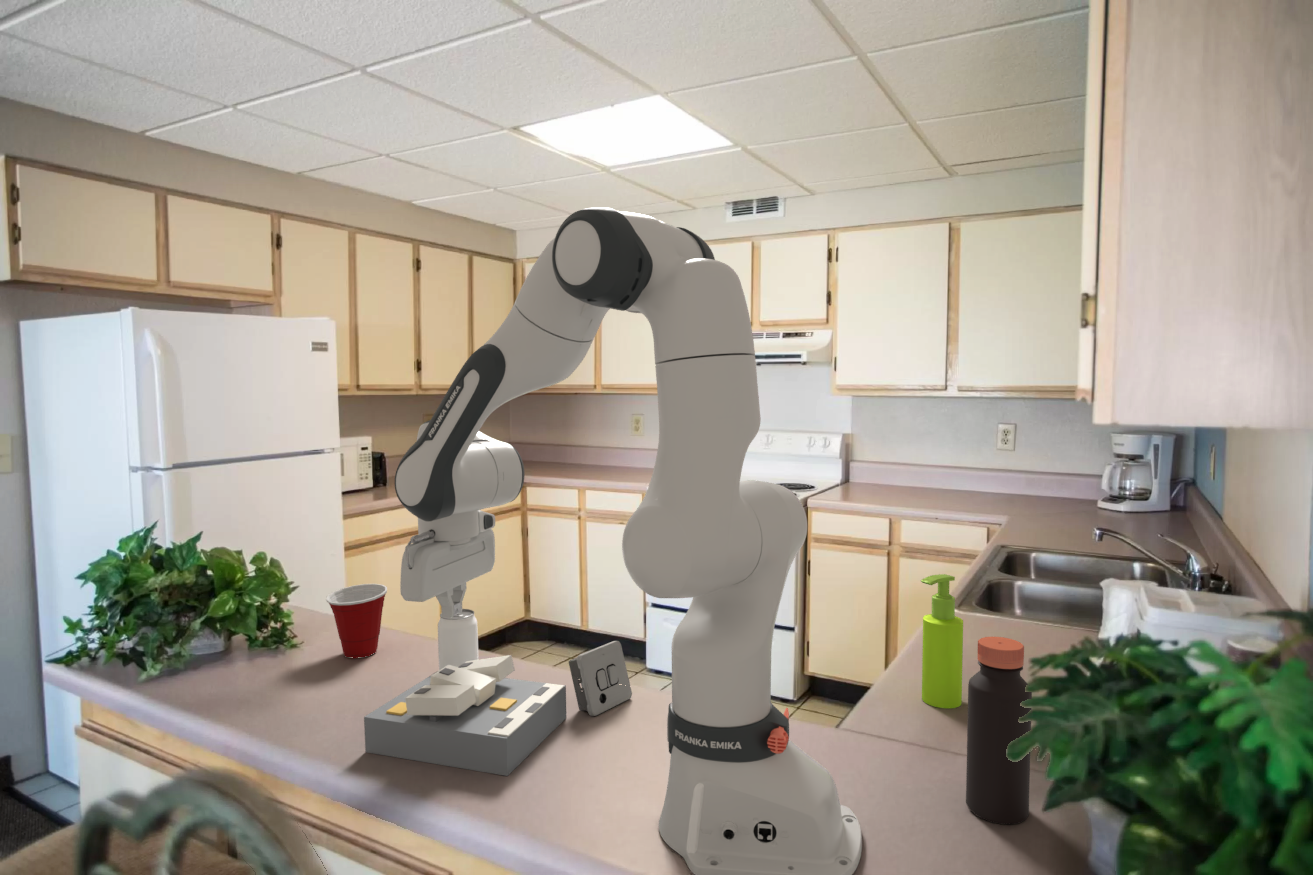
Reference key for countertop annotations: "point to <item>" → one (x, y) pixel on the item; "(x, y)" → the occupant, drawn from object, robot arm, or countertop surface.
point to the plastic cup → (358, 617)
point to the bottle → (997, 733)
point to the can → (457, 639)
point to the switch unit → (471, 728)
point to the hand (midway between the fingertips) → (452, 615)
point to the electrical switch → (600, 678)
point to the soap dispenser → (942, 648)
